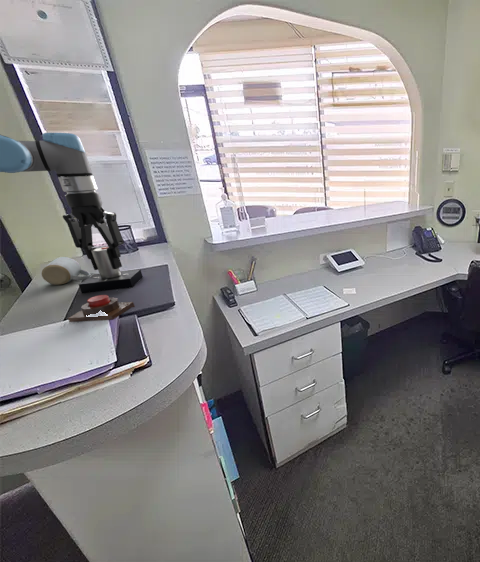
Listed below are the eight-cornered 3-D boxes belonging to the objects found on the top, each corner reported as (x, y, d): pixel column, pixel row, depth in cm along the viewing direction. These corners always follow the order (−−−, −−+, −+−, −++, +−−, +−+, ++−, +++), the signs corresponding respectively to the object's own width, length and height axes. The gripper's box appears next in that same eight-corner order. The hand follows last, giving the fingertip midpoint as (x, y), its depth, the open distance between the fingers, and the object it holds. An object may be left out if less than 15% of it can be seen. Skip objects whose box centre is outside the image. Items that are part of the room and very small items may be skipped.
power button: (85, 308, 75) (82, 301, 74) (97, 301, 79) (95, 295, 78) (102, 307, 75) (100, 300, 75) (114, 300, 79) (112, 294, 78)
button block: (71, 326, 74) (64, 311, 73) (96, 311, 82) (91, 297, 80) (114, 323, 75) (109, 309, 73) (135, 309, 82) (131, 295, 81)
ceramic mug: (44, 287, 98) (34, 264, 96) (56, 279, 105) (48, 258, 103) (86, 282, 102) (78, 260, 100) (95, 275, 109) (88, 254, 107)
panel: (81, 293, 93) (78, 284, 92) (97, 282, 102) (93, 273, 101) (132, 287, 97) (129, 278, 96) (143, 277, 106) (140, 268, 105)
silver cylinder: (98, 279, 96) (87, 250, 92) (105, 274, 100) (95, 246, 97) (117, 277, 97) (107, 248, 94) (123, 272, 102) (114, 245, 98)
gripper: (35, 194, 85) (68, 273, 94) (104, 192, 86) (130, 270, 95) (59, 191, 92) (87, 265, 101) (123, 190, 93) (145, 263, 102)
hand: (108, 268), depth 98 cm, fingers closed on silver cylinder, 5 cm apart
